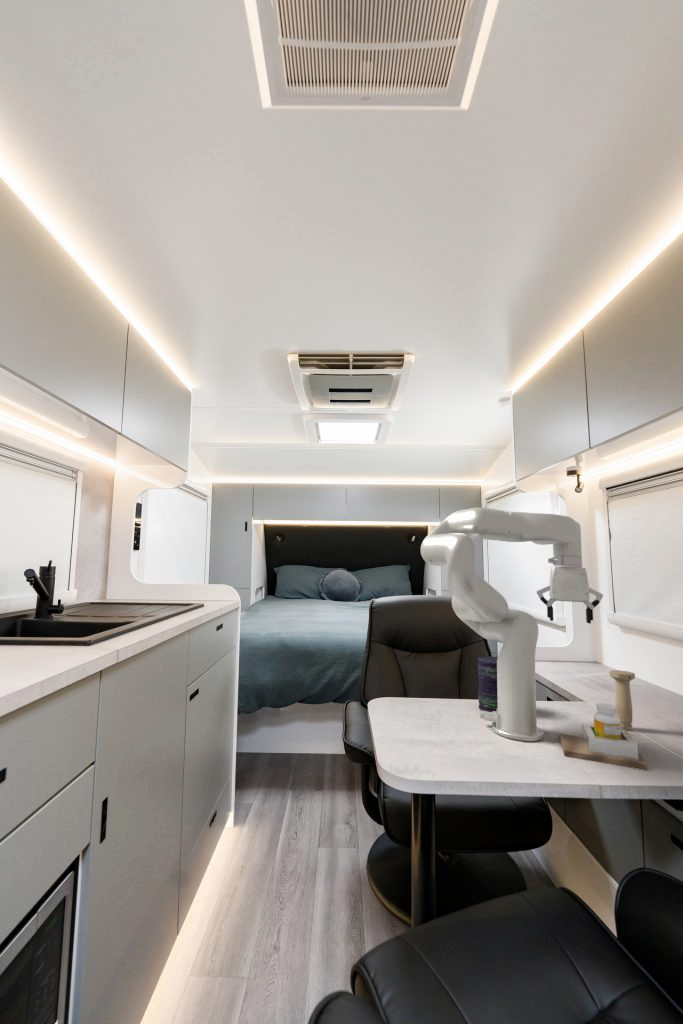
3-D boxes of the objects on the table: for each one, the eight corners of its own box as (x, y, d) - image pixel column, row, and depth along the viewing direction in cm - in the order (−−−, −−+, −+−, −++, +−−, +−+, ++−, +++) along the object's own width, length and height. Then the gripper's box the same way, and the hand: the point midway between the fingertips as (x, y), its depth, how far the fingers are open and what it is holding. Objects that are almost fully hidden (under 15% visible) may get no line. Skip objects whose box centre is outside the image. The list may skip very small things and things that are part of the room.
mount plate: (564, 756, 98) (564, 750, 98) (559, 738, 109) (558, 733, 109) (647, 770, 92) (647, 764, 92) (632, 749, 103) (632, 744, 103)
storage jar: (509, 717, 124) (508, 664, 126) (475, 710, 129) (474, 659, 131) (514, 708, 132) (513, 658, 134) (481, 702, 137) (481, 654, 139)
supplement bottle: (592, 742, 103) (590, 700, 105) (617, 746, 102) (615, 703, 103) (598, 751, 98) (596, 707, 100) (625, 755, 97) (622, 710, 98)
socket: (589, 752, 97) (588, 736, 98) (582, 738, 106) (582, 723, 107) (638, 761, 94) (637, 744, 94) (627, 745, 103) (626, 730, 103)
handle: (642, 731, 116) (638, 674, 119) (623, 732, 115) (620, 674, 117) (626, 725, 121) (623, 670, 123) (608, 726, 120) (605, 670, 122)
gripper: (536, 561, 126) (538, 620, 124) (603, 563, 120) (606, 625, 117) (535, 562, 133) (536, 618, 131) (598, 564, 127) (601, 622, 124)
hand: (569, 621), depth 124 cm, fingers open, 9 cm apart
